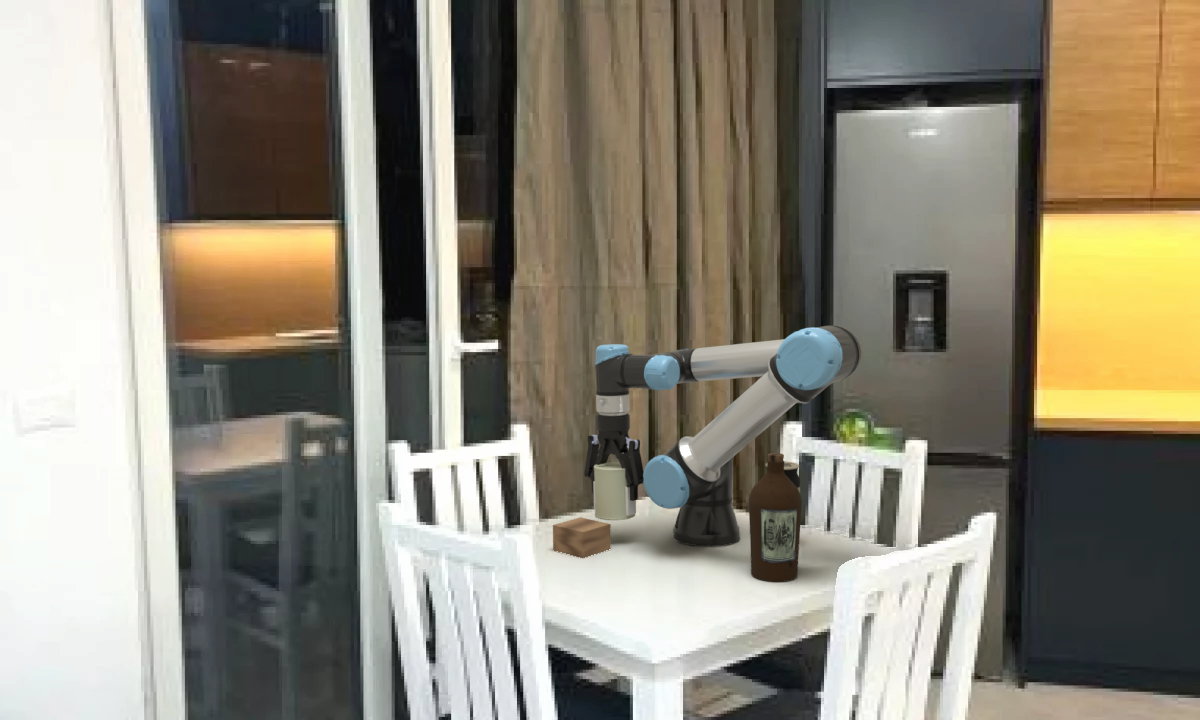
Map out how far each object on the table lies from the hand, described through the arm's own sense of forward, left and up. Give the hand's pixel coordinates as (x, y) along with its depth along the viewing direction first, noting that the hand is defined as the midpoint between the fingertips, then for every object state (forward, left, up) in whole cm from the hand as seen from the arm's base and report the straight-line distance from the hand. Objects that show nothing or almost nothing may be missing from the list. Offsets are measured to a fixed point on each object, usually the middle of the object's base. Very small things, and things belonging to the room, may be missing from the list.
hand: (614, 511), depth 244 cm
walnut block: (0, +11, -7) cm, 13 cm away
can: (0, 0, -1) cm, 1 cm away
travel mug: (-30, -23, -7) cm, 38 cm away
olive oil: (-42, -1, -7) cm, 42 cm away
